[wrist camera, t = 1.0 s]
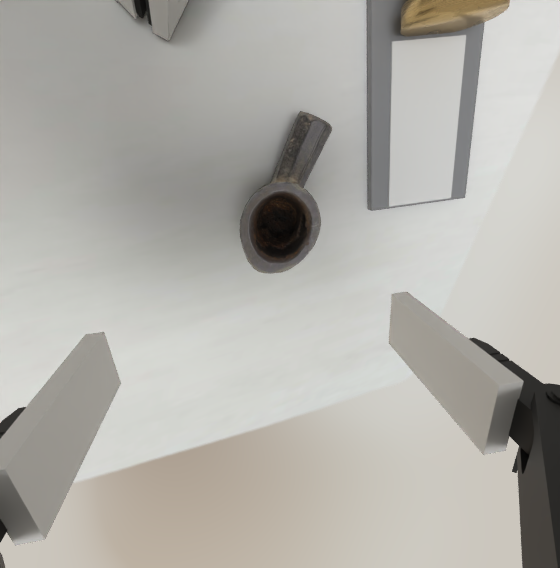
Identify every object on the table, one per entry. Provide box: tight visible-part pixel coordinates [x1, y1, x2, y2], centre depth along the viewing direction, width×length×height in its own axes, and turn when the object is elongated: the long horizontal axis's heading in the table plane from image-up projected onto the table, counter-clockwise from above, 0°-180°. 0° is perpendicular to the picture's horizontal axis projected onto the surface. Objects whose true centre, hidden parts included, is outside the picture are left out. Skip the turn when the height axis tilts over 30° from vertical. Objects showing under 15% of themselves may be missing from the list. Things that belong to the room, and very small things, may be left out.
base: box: [367, 0, 484, 211], centre depth 29 cm, size 22×10×1 cm, turn 6°
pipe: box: [240, 111, 332, 273], centre depth 27 cm, size 6×13×8 cm, turn 157°
